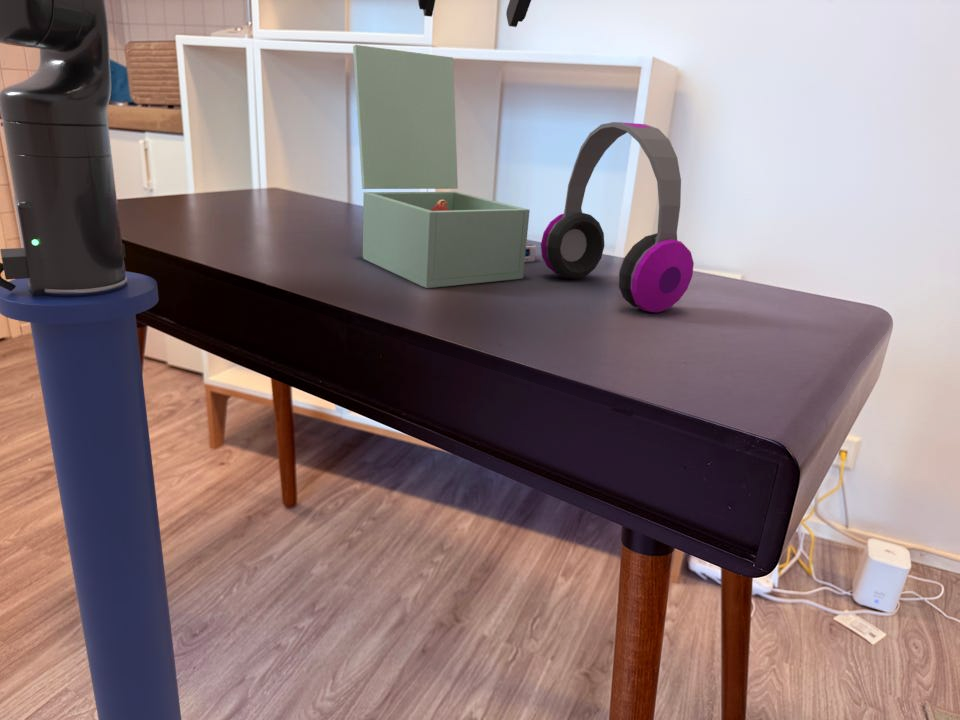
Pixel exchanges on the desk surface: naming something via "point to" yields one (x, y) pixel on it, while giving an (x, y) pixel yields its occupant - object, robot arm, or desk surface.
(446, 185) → the lid
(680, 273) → the headphones
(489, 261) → the box body
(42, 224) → the robot arm
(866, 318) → the desk surface
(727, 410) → the desk surface
